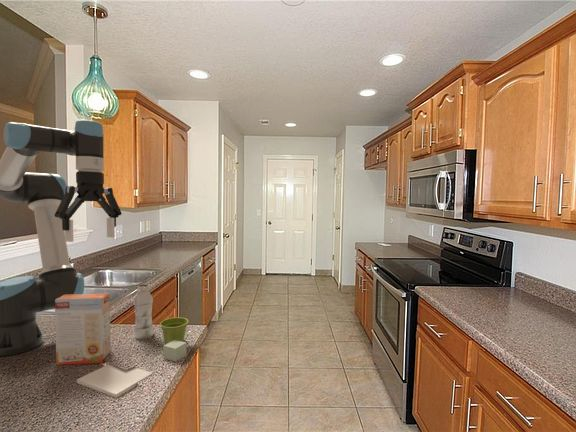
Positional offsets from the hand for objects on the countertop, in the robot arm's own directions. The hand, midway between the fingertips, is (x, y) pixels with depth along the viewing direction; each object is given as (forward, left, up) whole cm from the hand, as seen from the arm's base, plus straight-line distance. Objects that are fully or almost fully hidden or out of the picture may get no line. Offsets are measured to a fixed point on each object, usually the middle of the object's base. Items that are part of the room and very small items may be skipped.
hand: (91, 239), depth 105 cm
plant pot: (+16, +19, -39) cm, 46 cm away
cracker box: (-2, -2, -39) cm, 39 cm away
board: (+17, -5, -39) cm, 43 cm away
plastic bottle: (+2, +18, -39) cm, 43 cm away
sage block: (+23, +12, -39) cm, 47 cm away
